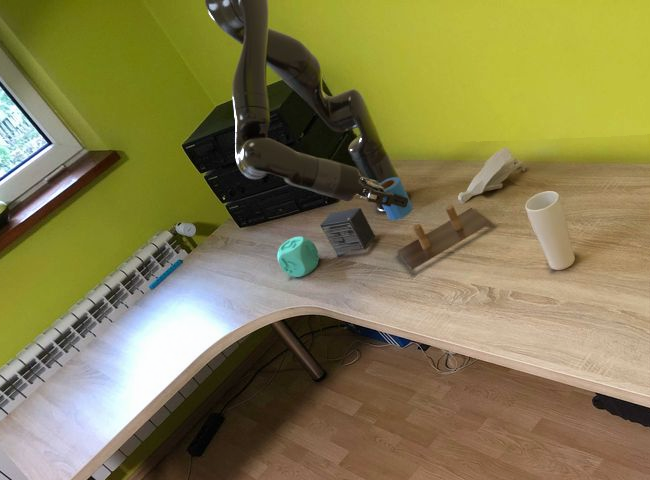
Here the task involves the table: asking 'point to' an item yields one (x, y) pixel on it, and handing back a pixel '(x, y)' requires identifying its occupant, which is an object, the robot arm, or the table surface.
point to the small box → (348, 231)
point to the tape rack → (442, 236)
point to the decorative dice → (298, 256)
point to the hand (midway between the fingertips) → (402, 198)
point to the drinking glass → (551, 228)
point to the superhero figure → (491, 174)
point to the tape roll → (398, 189)
